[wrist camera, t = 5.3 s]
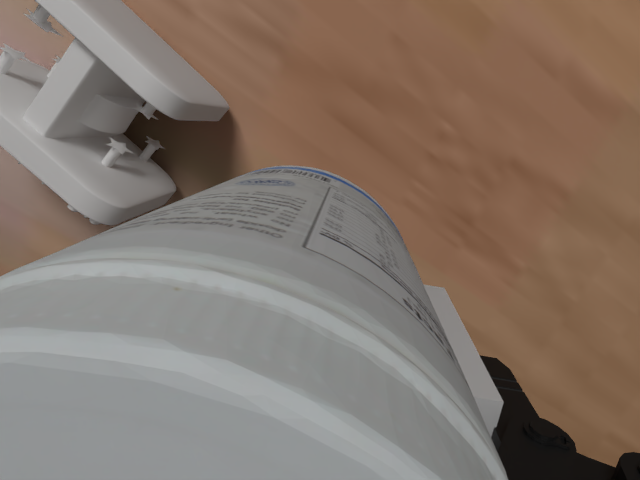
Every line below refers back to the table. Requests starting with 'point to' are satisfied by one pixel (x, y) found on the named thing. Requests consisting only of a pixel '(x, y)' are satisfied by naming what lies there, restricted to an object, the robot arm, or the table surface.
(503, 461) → the robot arm
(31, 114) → the cable organizer
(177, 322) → the supplement tub
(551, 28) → the table surface
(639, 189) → the table surface
